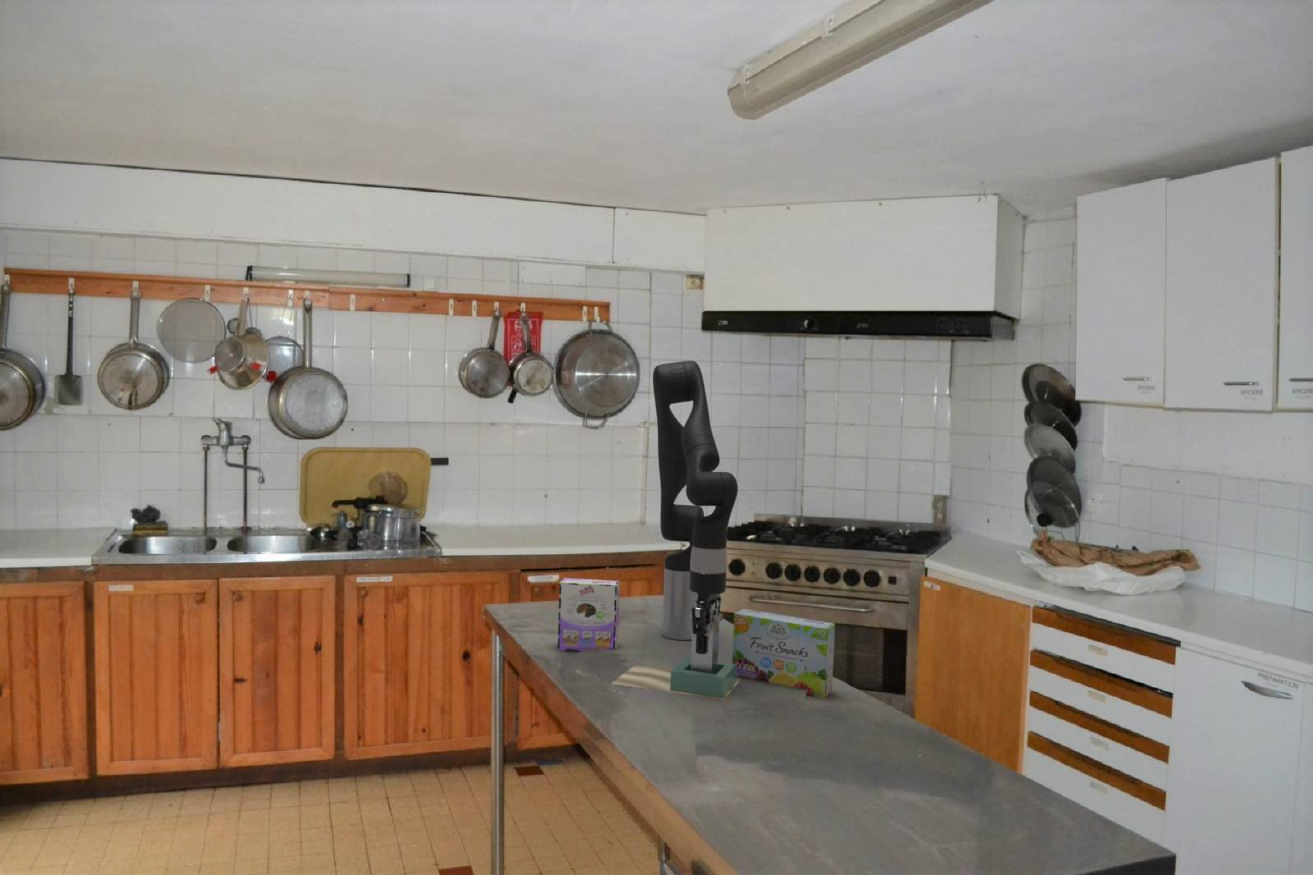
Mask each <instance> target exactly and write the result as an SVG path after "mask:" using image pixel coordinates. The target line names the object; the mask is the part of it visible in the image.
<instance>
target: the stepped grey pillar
mask: <svg viewBox="0 0 1313 875" xmlns="http://www.w3.org/2000/svg"><path fill="white" fill-rule="evenodd" d="M723 616H724V614H723V613H719V614H718V613H713V617H712V622H711V624H710V625H709V629H708V641H707V653H706V654H698V653H696V635H695V634H693V632H692V639H691V643H690V644H691V646H690V658H691V666H690V671H697V672H704V673H711V674H713V673H714V672H715V671H716V670H717V663H718V660H719V659H718V657H719V640H720V639H719V637H720V636H719V635H720V633H719V632H720V622H721V621H723ZM690 618H692V612H690ZM705 620H708V619H705ZM699 629H702V626H701V625H699ZM692 631H693V628H692Z"/></svg>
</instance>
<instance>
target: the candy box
mask: <svg viewBox="0 0 1313 875" xmlns="http://www.w3.org/2000/svg"><path fill="white" fill-rule="evenodd" d="M558 588H559V589H558V591H559V592H558V618H557V619H558V622H557V623H558V625H557V626H558V630H557V651H560V652H561V651H562V652H563V651H565V652H579V653H581V652H583V651H585V649H587V648H589V649H602V650H603V649H604V650H605V649H606V650H616V648H617V646H618V644H619V642H618V641H619V619H620V618H619V617H620V616H619V612H620V580H612V579H611V580H609V579H592V578H590V579H588V578H571V577H563V578H562V580H560V581H559V584H558Z"/></svg>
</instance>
